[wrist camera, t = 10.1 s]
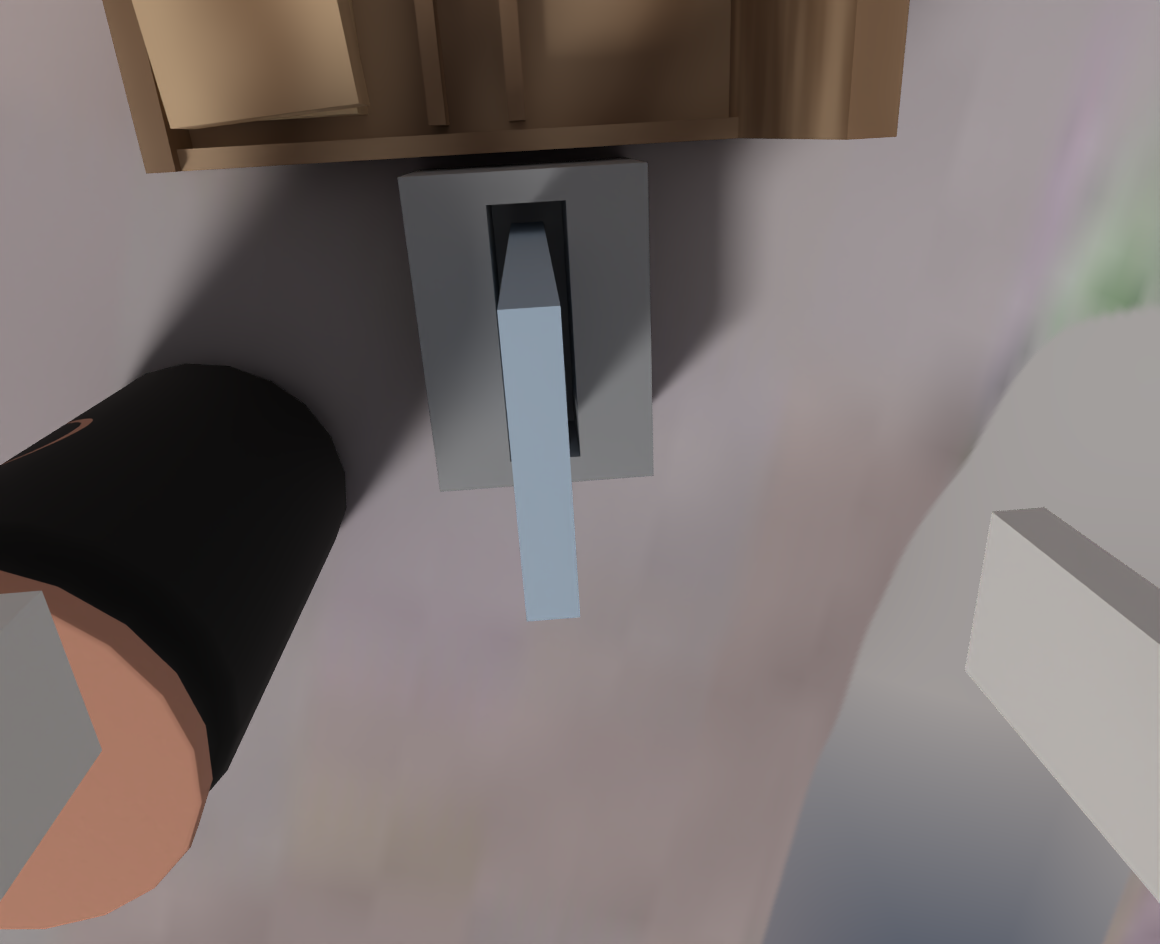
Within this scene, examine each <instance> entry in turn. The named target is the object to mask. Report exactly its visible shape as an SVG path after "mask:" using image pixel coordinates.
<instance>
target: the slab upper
mask: <svg viewBox="0 0 1160 944" xmlns="http://www.w3.org/2000/svg"><path fill="white" fill-rule="evenodd" d="M132 3H133V6H134V10H135V13H136V16H137V19H138V23H139V26H140V29H141V33H142V36H143V39H144V42H145V46H146V49H147V52H148V56H149V59H150V62H151V66H152V69H153V72H154V75H155V79H156V82H157V85H158V89H159V92H160V95H161V98H162V102H163V105H164V108H165V112H166V115H167V118H168V121H169V125H170V128H171V129H200V128H207V127H215V126H222V125H230V124H237V123H245V122H252V121H259V120H267V119H274V118H282V117H289V116H297V115H304V114H311V113H319V112H326V111H334V110H341V109H349V108H356V107H363V106H370V102H369V97H368V92H367V87H366V83H365V78H364V73H363V68H362V64H361V59H360V54H359V49H358V44H357V40H356V35H355V30H354V25H353V21H352V16H351V11H350V6H349V1H348V0H132Z"/></svg>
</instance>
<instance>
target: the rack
mask: <svg viewBox="0 0 1160 944" xmlns="http://www.w3.org/2000/svg"><path fill="white" fill-rule="evenodd" d="M102 1H103V5H104V9H105V13H106V17H107V21H108V25H109V29H110V32H111V36H112V40H113V44H114V48H115V52H116V56H117V60H118V64H119V68H120V72H121V76H122V80H123V84H124V88H125V91H126V95H127V99H128V103H129V107H130V111H131V115H132V119H133V123H134V127H135V131H136V135H137V139H138V143H139V147H140V151H141V154H142V158H143V162H144V166H145V170H146V173H163V172H178V171H192V170H209V169H226V168H243V167H260V166H276V165H293V164H310V163H327V162H344V161H361V160H378V159H395V158H411V157H428V156H445V155H462V154H479V153H496V152H513V151H530V150H546V149H563V148H580V147H597V146H614V145H631V144H648V143H665V142H681V141H698V140H715V139H732V138H766V139H842V140H848V139H865V138H882V137H896V136H897V126H898V115H899V105H900V95H901V84H902V74H903V64H904V53H905V43H906V33H907V22H908V12H909V2H910V0H352V5H353V12H354V19H355V26H356V33H357V39H358V46H359V53H360V59H361V64H362V68H363V73H364V78H365V83H366V87H367V92H368V97H369V102H370V106H367V108H368V115H356V116H338V117H321V118H303V119H286V120H268V121H252V122H245V123H237V124H230V125H222V126H215V127H207V128H200V129H171V128H170V125H169V121H168V118H167V115H166V112H165V108H164V105H163V102H162V98H161V95H160V92H159V89H158V85H157V82H156V79H155V75H154V72H153V69H152V66H151V62H150V59H149V56H148V52H147V49H146V46H145V42H144V39H143V36H142V33H141V29H140V26H139V23H138V19H137V16H136V13H135V10H134V6H133V3H132V0H102Z"/></svg>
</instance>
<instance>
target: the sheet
mask: <svg viewBox="0 0 1160 944" xmlns="http://www.w3.org/2000/svg"><path fill="white" fill-rule="evenodd" d="M497 314H498V324H499V335H500V345H501V356H502V366H503V377H504V387H505V398H506V408H507V418H508V429H509V439H510V450H511V460H512V471H513V481H514V492H515V502H516V513H517V523H518V534H519V544H520V555H521V565H522V576H523V586H524V597H525V607H526V618H527V621H538V620H550V619H563V618H575V617H580V607H579V591H578V575H577V560H576V544H575V528H574V512H573V497H572V481H571V465H570V449H569V433H568V418H567V402H566V386H565V370H564V355H563V339H562V323H561V307H560V301H559V297H558V292H557V287H556V282H555V277H554V272H553V268H552V263H551V258H550V253H549V248H548V243H547V239H546V234H545V229H544V224H543V221H541V222H525V223H511V227H510V233H509V239H508V245H507V252H506V258H505V264H504V270H503V277H502V283H501V289H500V295H499V302H498V308H497Z"/></svg>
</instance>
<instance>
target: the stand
mask: <svg viewBox="0 0 1160 944" xmlns="http://www.w3.org/2000/svg"><path fill="white" fill-rule="evenodd" d="M397 178H398V186H399V193H400V200H401V208H402V215H403V222H404V230H405V237H406V244H407V252H408V259H409V266H410V274H411V281H412V288H413V296H414V303H415V310H416V318H417V325H418V332H419V339H420V347H421V354H422V361H423V369H424V376H425V383H426V391H427V398H428V405H429V413H430V420H431V427H432V435H433V442H434V449H435V457H436V464H437V471H438V479H439V486H440V492H444V491H457V490H471V489H484V488H497V487H511V486H514V481H513V471H512V460H511V450H510V439H509V429H508V418H507V408H506V398H505V387H504V377H503V366H502V356H501V345H500V335H499V324H498V314H497V308H498V302H499V295H500V289H501V283H502V277H503V270H504V264H505V258H506V252H507V245H508V239H509V233H510V227H511V223H525V222H541V221H543V224H544V229H545V234H546V239H547V243H548V248H549V253H550V258H551V263H552V268H553V272H554V277H555V282H556V287H557V292H558V297H559V301H560V307H561V323H562V339H563V355H564V370H565V386H566V402H567V418H568V433H569V449H570V465H571V481H572V482H577V481H590V480H604V479H617V478H630V477H644V476H654V473H653V419H652V364H651V310H650V255H649V201H648V162H644V161H640V160H635V159H630V158H609V159H592V160H576V161H559V162H542V163H526V164H509V165H492V166H475V167H459V168H442V169H425V170H418V171H415V172H412V173H409V174H406V175H403V176H400V177H397Z"/></svg>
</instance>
